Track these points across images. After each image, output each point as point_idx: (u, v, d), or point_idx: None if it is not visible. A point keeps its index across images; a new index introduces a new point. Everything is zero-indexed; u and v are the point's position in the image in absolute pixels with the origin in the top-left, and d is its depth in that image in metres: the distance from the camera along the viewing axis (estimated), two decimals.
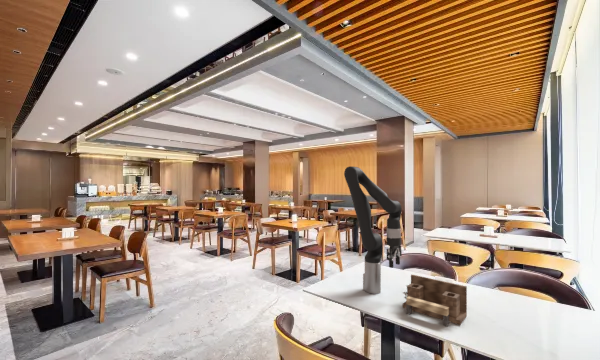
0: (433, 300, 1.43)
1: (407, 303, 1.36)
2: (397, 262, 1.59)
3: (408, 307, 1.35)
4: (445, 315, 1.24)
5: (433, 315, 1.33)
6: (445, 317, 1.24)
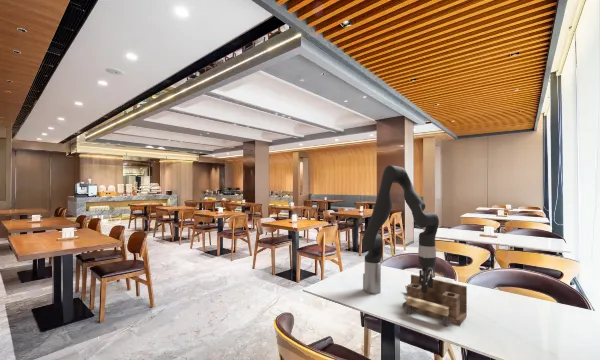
0: (433, 300, 1.43)
1: (407, 303, 1.36)
2: (430, 285, 1.34)
3: (408, 307, 1.35)
4: (445, 315, 1.24)
5: (433, 315, 1.33)
6: (445, 317, 1.24)
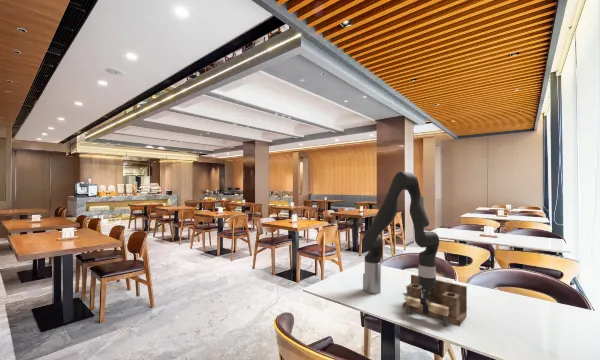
0: (433, 300, 1.43)
1: (407, 303, 1.35)
2: None
3: (408, 307, 1.35)
4: (445, 315, 1.24)
5: (433, 315, 1.33)
6: (445, 317, 1.24)
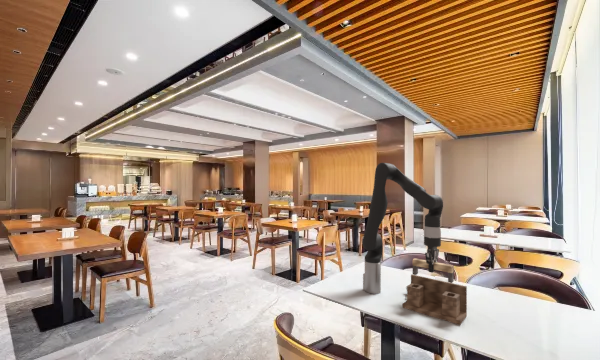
0: (433, 300, 1.43)
1: (413, 264, 1.42)
2: None
3: (414, 268, 1.41)
4: (450, 272, 1.31)
5: (433, 315, 1.33)
6: (450, 274, 1.30)
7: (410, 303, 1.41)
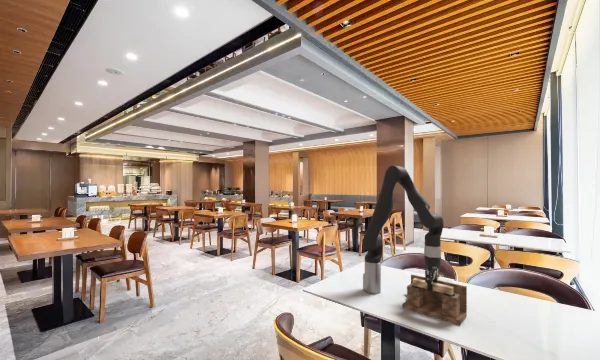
0: (433, 300, 1.43)
1: (413, 284, 1.42)
2: None
3: None
4: (450, 294, 1.30)
5: (433, 315, 1.33)
6: None
7: (410, 303, 1.41)
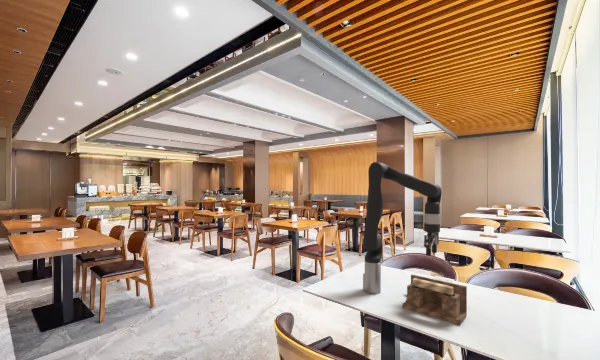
0: (433, 300, 1.43)
1: (413, 284, 1.42)
2: (434, 250, 1.47)
3: None
4: (450, 294, 1.30)
5: (433, 315, 1.33)
6: None
7: (410, 303, 1.41)
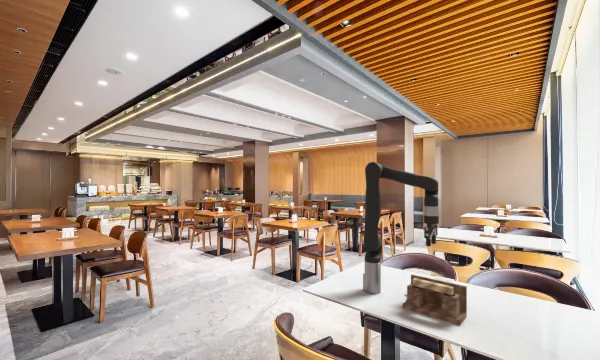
0: (433, 300, 1.43)
1: (413, 284, 1.42)
2: (433, 241, 1.54)
3: None
4: (450, 294, 1.30)
5: (433, 315, 1.33)
6: None
7: (410, 303, 1.41)
